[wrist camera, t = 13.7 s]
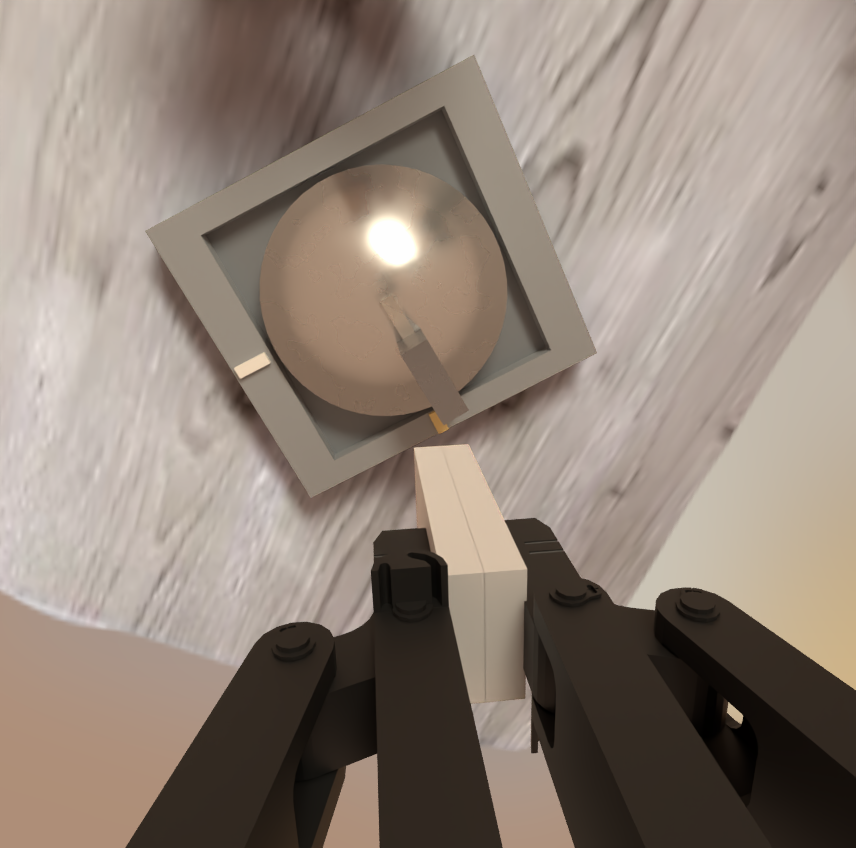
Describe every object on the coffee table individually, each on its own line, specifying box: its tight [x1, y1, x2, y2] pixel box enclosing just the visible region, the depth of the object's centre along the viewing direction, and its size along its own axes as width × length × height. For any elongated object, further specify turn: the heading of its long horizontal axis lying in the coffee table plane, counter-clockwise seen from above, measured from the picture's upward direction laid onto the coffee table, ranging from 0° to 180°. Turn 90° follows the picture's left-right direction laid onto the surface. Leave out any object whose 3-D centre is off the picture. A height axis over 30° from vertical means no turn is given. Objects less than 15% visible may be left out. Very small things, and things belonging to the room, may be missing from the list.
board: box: [145, 55, 597, 498], centre depth 38 cm, size 20×18×3 cm
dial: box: [260, 164, 507, 425], centre depth 35 cm, size 14×14×6 cm
